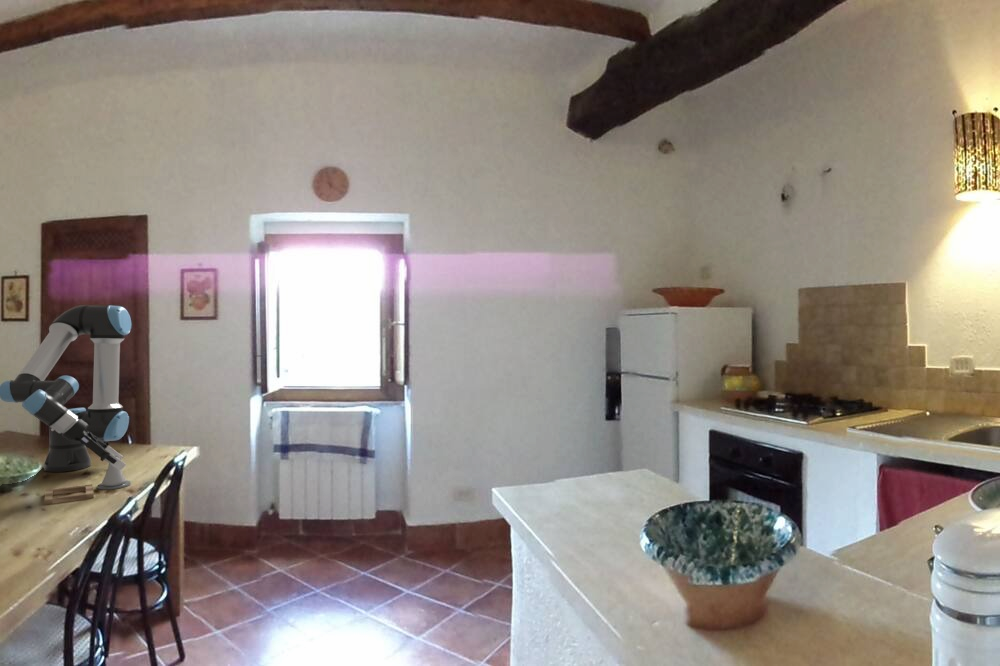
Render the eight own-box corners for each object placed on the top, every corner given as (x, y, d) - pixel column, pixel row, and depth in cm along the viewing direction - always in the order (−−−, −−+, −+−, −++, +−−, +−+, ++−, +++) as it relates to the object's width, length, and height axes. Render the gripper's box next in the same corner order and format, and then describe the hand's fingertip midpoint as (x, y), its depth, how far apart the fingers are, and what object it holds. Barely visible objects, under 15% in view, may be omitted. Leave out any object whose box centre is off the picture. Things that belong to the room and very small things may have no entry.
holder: (45, 494, 200) (45, 490, 200) (92, 488, 208) (92, 484, 208) (44, 504, 190) (44, 500, 190) (93, 498, 197) (93, 493, 197)
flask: (113, 487, 207) (114, 459, 207) (96, 486, 209) (96, 458, 209) (130, 482, 214) (130, 454, 214) (113, 480, 216) (113, 453, 216)
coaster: (106, 482, 216) (106, 480, 216) (135, 481, 217) (135, 480, 217) (91, 490, 206) (91, 488, 206) (121, 489, 207) (121, 487, 207)
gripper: (60, 428, 212) (110, 464, 221) (60, 441, 192) (115, 480, 201) (78, 412, 215) (127, 448, 224) (80, 423, 195) (133, 462, 204)
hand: (121, 463), depth 213 cm, fingers open, 13 cm apart
